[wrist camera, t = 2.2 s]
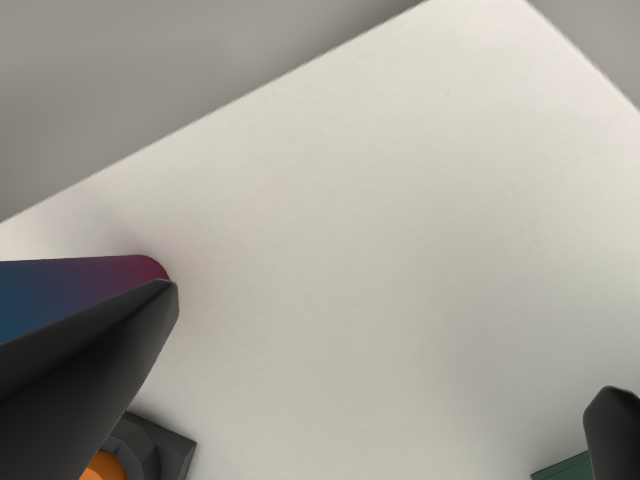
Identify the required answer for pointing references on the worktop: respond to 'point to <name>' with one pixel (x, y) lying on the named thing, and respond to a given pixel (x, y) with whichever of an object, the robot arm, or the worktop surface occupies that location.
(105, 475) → the button
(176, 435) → the control block
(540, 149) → the worktop surface
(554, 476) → the lid box
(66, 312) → the cup
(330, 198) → the worktop surface
